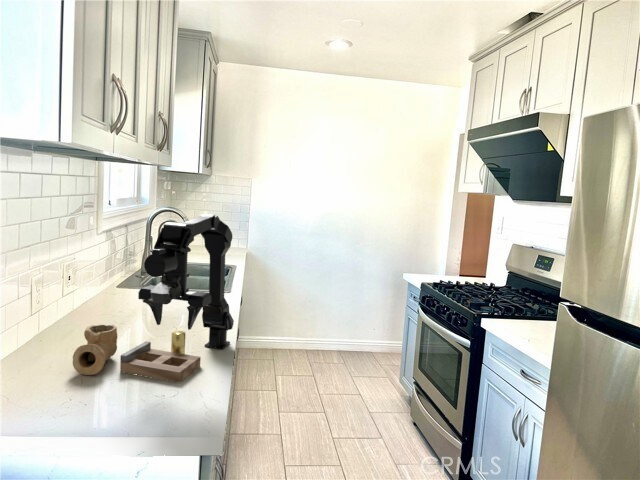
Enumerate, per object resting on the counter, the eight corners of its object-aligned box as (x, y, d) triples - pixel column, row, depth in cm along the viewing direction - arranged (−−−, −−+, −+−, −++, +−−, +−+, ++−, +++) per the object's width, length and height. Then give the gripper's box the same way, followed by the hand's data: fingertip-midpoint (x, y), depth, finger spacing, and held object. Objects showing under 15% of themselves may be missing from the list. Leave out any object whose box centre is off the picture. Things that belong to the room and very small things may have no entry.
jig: (145, 357, 142) (145, 341, 141) (200, 366, 138) (200, 350, 137) (120, 372, 130) (120, 355, 130) (179, 383, 126) (179, 365, 126)
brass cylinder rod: (175, 355, 145) (176, 330, 144) (187, 357, 144) (187, 332, 143) (168, 359, 141) (169, 334, 140) (180, 361, 141) (181, 336, 140)
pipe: (69, 376, 126) (69, 340, 124) (90, 354, 141) (90, 322, 140) (104, 377, 127) (105, 341, 126) (121, 354, 143) (122, 322, 141)
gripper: (125, 271, 119) (124, 331, 121) (193, 280, 115) (190, 341, 117) (151, 264, 130) (149, 319, 132) (213, 272, 126) (211, 328, 128)
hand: (174, 327), depth 127 cm, fingers open, 9 cm apart
